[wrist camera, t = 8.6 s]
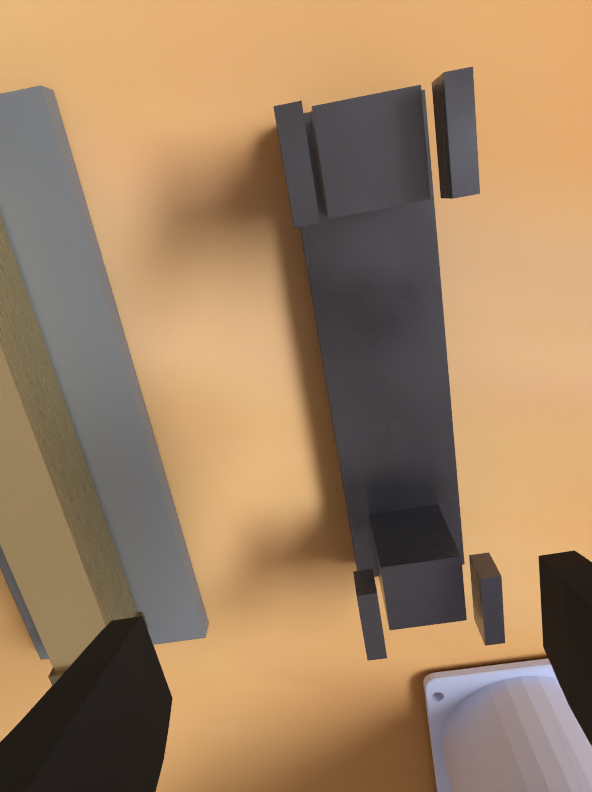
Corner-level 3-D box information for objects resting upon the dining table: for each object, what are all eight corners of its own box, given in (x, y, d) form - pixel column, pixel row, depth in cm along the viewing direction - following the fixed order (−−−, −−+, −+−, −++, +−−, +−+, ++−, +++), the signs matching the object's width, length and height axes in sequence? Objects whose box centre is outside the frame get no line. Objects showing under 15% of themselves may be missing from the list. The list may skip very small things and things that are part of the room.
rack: (459, 547, 21) (505, 649, 17) (353, 562, 22) (368, 666, 17) (420, 95, 16) (471, 53, 11) (279, 122, 16) (271, 93, 12)
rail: (148, 627, 22) (128, 683, 19) (83, 636, 22) (55, 693, 20) (-20, 135, 16) (-82, 124, 13) (-108, 153, 16) (-185, 145, 13)
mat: (208, 623, 23) (205, 637, 22) (49, 644, 23) (40, 659, 23) (53, 90, 16) (41, 85, 15) (-168, 136, 17) (-190, 133, 16)
